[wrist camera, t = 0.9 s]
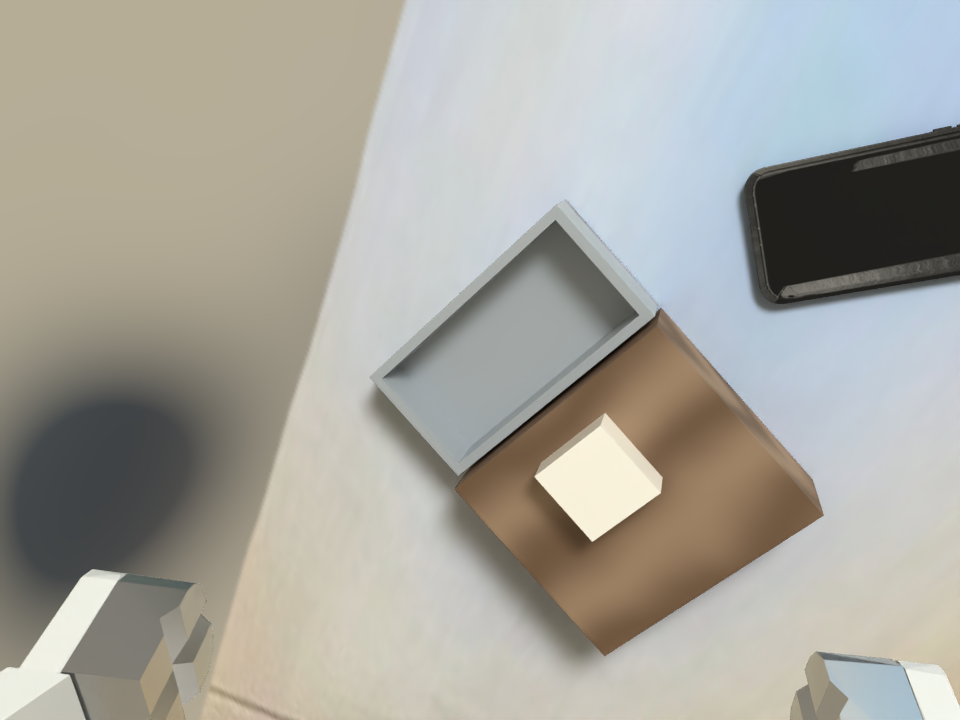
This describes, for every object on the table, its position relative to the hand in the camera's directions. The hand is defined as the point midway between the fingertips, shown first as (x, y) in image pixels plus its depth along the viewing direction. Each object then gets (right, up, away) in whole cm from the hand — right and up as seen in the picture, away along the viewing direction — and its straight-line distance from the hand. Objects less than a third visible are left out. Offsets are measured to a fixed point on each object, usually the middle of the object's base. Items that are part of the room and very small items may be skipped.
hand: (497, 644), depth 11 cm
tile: (+7, -3, +37) cm, 38 cm away
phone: (+23, +12, +35) cm, 44 cm away
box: (+2, +5, +42) cm, 42 cm away
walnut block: (+10, -3, +42) cm, 43 cm away
